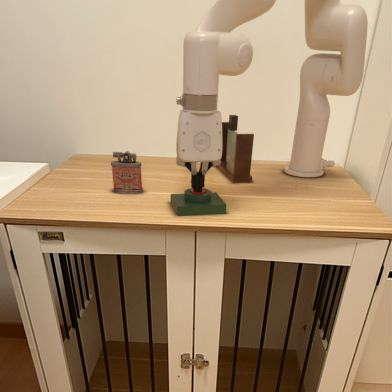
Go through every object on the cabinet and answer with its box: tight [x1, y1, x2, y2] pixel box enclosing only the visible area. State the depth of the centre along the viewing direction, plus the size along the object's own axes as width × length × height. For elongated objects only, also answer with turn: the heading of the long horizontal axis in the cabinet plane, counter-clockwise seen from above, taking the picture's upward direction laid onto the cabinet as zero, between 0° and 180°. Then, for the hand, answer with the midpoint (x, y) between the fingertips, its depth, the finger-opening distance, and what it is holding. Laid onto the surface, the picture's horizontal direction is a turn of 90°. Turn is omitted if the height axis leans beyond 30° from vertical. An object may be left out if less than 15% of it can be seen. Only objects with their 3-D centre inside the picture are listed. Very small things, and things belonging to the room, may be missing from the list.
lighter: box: [110, 150, 144, 194], centre depth 109 cm, size 8×3×10 cm, turn 88°
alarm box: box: [170, 187, 227, 217], centre depth 101 cm, size 12×10×4 cm
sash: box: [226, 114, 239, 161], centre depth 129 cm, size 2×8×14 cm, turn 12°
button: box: [191, 189, 205, 194], centre depth 100 cm, size 4×4×2 cm
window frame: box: [215, 121, 255, 184], centre depth 127 cm, size 6×22×13 cm, turn 12°
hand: (197, 190), depth 100 cm, fingers closed
